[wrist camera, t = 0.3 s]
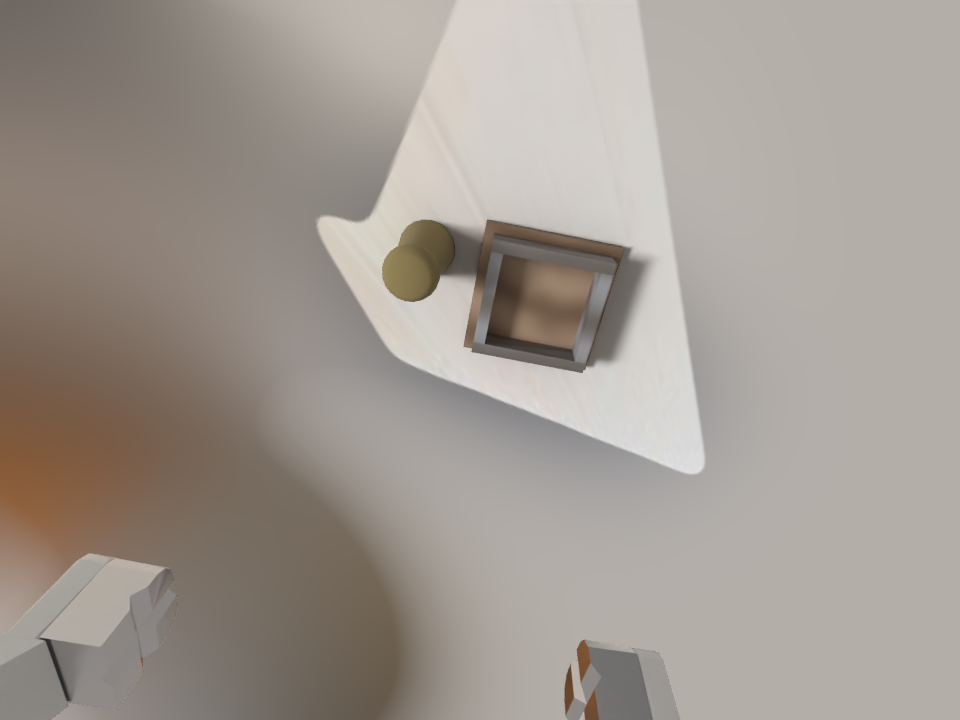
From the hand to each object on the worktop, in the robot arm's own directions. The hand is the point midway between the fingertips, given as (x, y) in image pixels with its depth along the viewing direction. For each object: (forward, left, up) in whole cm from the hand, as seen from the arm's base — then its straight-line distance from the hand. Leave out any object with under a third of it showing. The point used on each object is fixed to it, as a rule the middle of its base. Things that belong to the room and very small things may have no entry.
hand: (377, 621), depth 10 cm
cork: (+5, -6, -46) cm, 46 cm away
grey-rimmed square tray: (+8, +7, -46) cm, 47 cm away
